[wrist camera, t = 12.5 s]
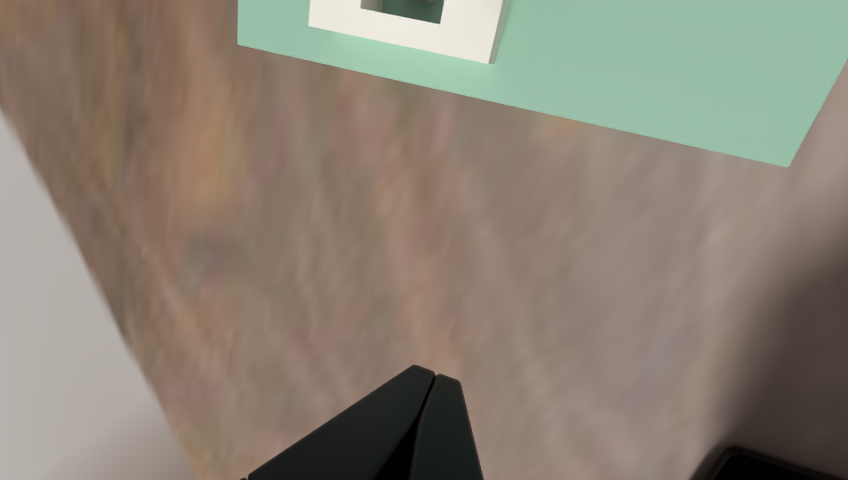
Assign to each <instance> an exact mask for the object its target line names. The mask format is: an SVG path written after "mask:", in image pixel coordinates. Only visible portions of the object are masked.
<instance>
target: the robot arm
mask: <svg viewBox="0 0 848 480" xmlns="http://www.w3.org/2000/svg"><path fill="white" fill-rule="evenodd" d="M736 459H740V460H737V461H736ZM240 480H247V479H246V478H242V479H240ZM248 480H484V478H483V474H482V470H481V466H480V462H479V457H478V453H477V449H476V445H475V441H474V437H473V432H472V428H471V424H470V420H469V416H468V411H467V407H466V403H465V399H464V395H463V391H462V386H461V383H460V382H459V381H458V380H456V379H454V378H451V377H448V376H445V375H443V374H438V375H436V377H435V373H434V371H432V370H429V369H426V368H423V367H421V366H418V365H412V366H410V367H409V368H407V369H406V370H404V371H403V372H401V373H400V374H398V375H397V376H395V377H394V378H392V379H391V380H389V381H388V382H386V383H385V384H383V385H382V386H380V387H379V388H377V389H376V390H374V391H373V392H371V393H370V394H368V395H367V396H365V397H364V398H362V399H361V400H359V401H358V402H356V403H355V404H353V405H352V406H350V407H349V408H347V409H346V410H344V411H343V412H341V413H340V414H338V415H337V416H335V417H334V418H332V419H331V420H329V421H328V422H326V423H325V424H323V425H322V426H320V427H319V428H317V429H316V430H314V431H313V432H311V433H310V434H308V435H307V436H305V437H304V438H302V439H301V440H299V441H298V442H296V443H295V444H293V445H292V446H290V447H289V448H287V449H286V450H284V451H283V452H281V453H280V454H278V455H277V456H275V457H274V458H272V459H271V460H269V461H268V462H266V463H265V464H263V465H262V466H260V467H259V468H257V469H256V470H254V471H253V472H251V473H250V474H249V475H248ZM706 480H840V479H837V478H834V477H831V476H828V475H824V474H821V473H818V472H815V471H812V470H809V469H806V468H802V467H799V466H796V465H793V464H790V463H787V462H784V461H781V460H777V459H774V458H771V457H768V456H765V455H762V454H759V453H755V452H752V451H749V450H746V449H743V448H738V447H733V448H729V449H727V450H726V451H725V452H724V453H723V454H722V456H721V457H720V459H719V460H718V462H717V463H716V465H715V466H714V468H713V469H712V471H711V472H710V474H709V475H708V477H707V478H706Z"/></svg>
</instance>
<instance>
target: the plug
mask: <svg viewBox="0 0 848 480" xmlns="http://www.w3.org/2000/svg"><path fill="white" fill-rule="evenodd" d="M420 1H425V2H430V3H435V4H436V2H437V0H420Z"/></svg>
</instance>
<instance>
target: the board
mask: <svg viewBox="0 0 848 480" xmlns="http://www.w3.org/2000/svg"><path fill="white" fill-rule="evenodd" d="M238 45H242V46H247V47H251V48H256V49H260V50H265V51H269V52H274V53H278V54H282V55H287V56H291V57H296V58H300V59H305V60H309V61H314V62H318V63H323V64H327V65H332V66H336V67H341V68H345V69H349V70H354V71H358V72H363V73H367V74H372V75H376V76H381V77H385V78H390V79H394V80H399V81H403V82H408V83H412V84H416V85H421V86H425V87H430V88H434V89H439V90H443V91H448V92H452V93H457V94H461V95H466V96H470V97H475V98H479V99H483V100H488V101H492V102H497V103H501V104H506V105H510V106H515V107H519V108H524V109H528V110H533V111H537V112H542V113H546V114H551V115H555V116H559V117H564V118H568V119H573V120H577V121H582V122H586V123H591V124H595V125H600V126H604V127H609V128H613V129H618V130H622V131H626V132H631V133H635V134H640V135H644V136H649V137H653V138H658V139H662V140H667V141H671V142H676V143H680V144H685V145H689V146H693V147H698V148H702V149H707V150H711V151H716V152H720V153H725V154H729V155H734V156H738V157H743V158H747V159H752V160H756V161H760V162H765V163H769V164H774V165H778V166H783V167H787V168H788V167H789V165H790V163H791V161H792V159H793V158H794V156H795V154H796V152H797V150H798V148H799V147H800V145H801V143H802V141H803V139H804V138H805V136H806V134H807V132H808V130H809V128H810V127H811V125H812V123H813V121H814V119H815V117H816V116H817V114H818V112H819V110H820V108H821V106H822V105H823V103H824V101H825V99H826V97H827V95H828V94H829V92H830V90H831V88H832V86H833V85H834V83H835V81H836V79H837V77H838V75H839V74H840V72H841V70H842V68H843V66H844V64H845V63H846V61H847V59H848V0H437V2H436V4H435V3H430V2H425V1H420V0H238Z"/></svg>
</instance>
